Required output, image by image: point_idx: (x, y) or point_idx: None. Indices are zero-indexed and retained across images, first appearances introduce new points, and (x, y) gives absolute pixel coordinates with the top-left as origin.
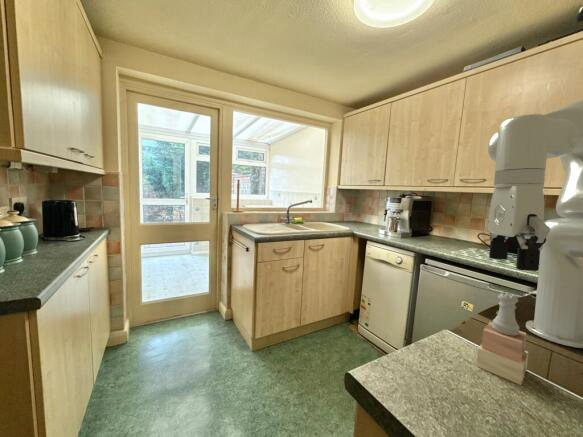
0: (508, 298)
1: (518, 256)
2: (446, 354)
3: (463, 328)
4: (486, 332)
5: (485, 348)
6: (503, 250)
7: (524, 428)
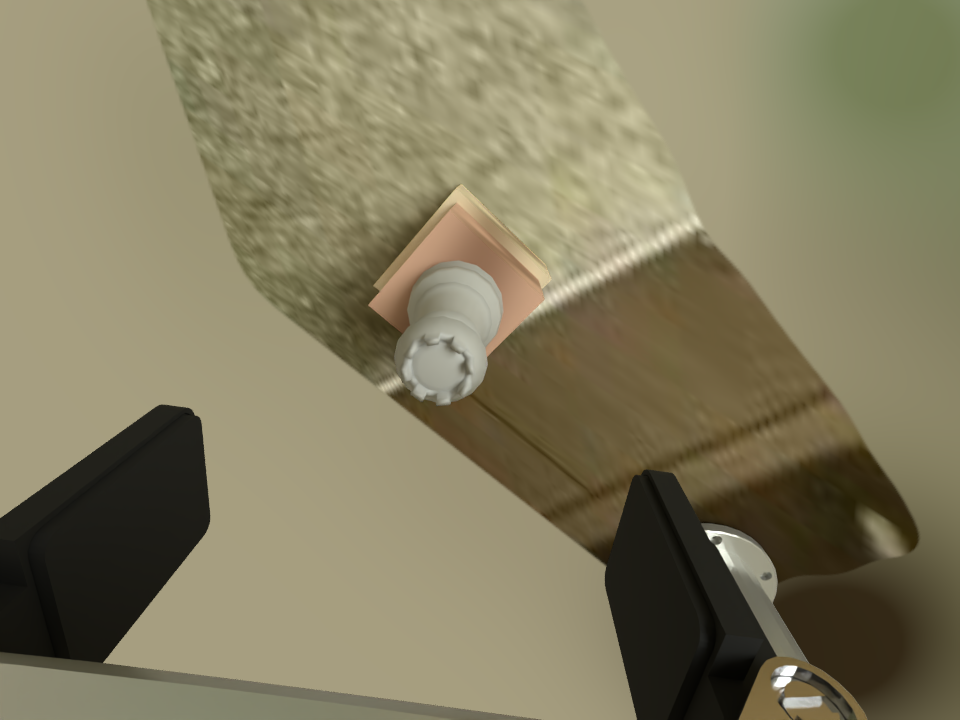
0: (405, 345)
1: (78, 471)
2: (521, 99)
3: (739, 294)
4: (442, 219)
5: (447, 211)
6: (632, 628)
7: (207, 152)
